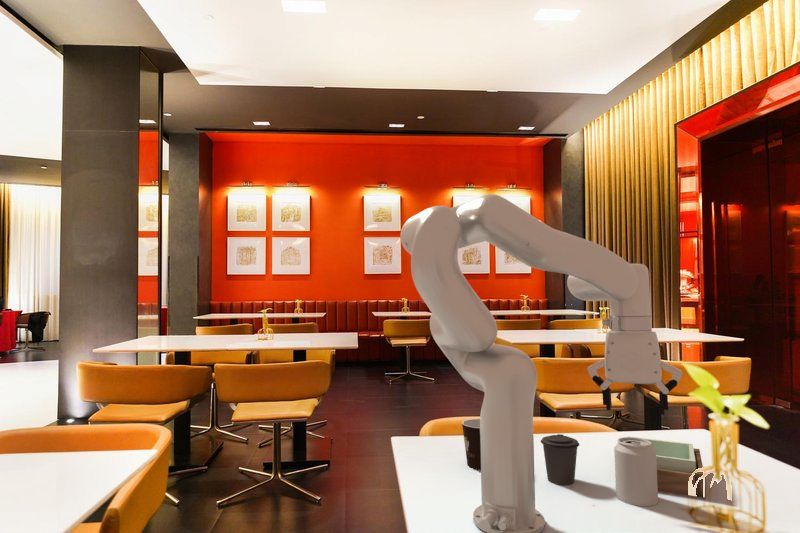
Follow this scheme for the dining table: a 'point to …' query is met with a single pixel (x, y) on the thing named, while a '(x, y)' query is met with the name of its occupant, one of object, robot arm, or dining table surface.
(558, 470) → the coffee cup
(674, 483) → the walnut crate
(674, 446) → the sage crate
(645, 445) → the can
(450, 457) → the dining table surface
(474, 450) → the coffee mug
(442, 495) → the dining table surface
